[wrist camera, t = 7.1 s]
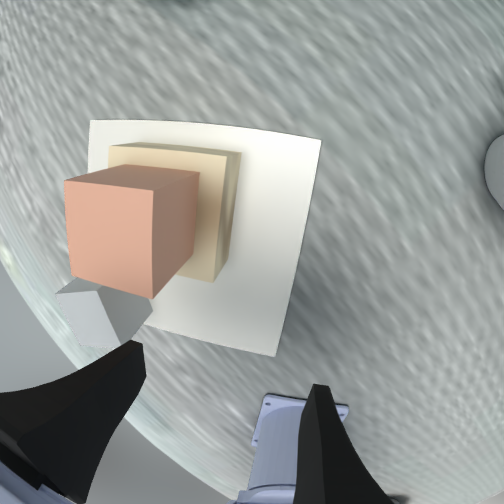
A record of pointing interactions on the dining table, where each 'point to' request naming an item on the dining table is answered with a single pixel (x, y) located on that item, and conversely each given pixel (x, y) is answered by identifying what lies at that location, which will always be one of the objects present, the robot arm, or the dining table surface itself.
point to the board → (234, 231)
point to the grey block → (102, 313)
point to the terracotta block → (131, 226)
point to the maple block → (208, 200)
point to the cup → (495, 170)
